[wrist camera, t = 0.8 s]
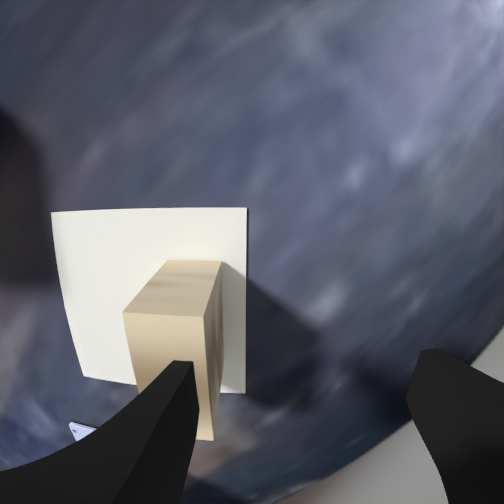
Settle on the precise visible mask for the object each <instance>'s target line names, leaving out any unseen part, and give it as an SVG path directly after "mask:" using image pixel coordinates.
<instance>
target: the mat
mask: <svg viewBox="0 0 504 504" xmlns="http://www.w3.org/2000/svg"><path fill="white" fill-rule="evenodd" d="M51 218H52V229H53V238H54V246H55V253H56V260H57V267H58V273H59V279H60V284H61V290H62V295H63V300H64V304H65V309H66V313H67V318H68V322H69V326H70V330H71V334H72V338H73V341H74V345H75V348H76V352H77V355H78V359H79V362H80V365H81V368H82V372H83V375H84V376H86V377H92V378H97V379H102V380H108V381H114V382H120V383H127V384H134V385H137V383H136V379H135V375H134V370H133V366H132V361H131V357H130V352H129V347H128V342H127V337H126V332H125V326H124V320H123V315H122V312H123V310H124V309H125V308H126V307H127V306H128V304H129V303H130V302H131V301H132V300H133V299H134V297H135V296H136V295H137V294H138V293H139V292H140V290H141V289H142V288H143V287H144V286H145V285H146V284H147V282H148V281H149V280H150V279H151V278H152V277H153V276H154V274H155V273H156V272H157V271H158V270H159V269H160V268H161V266H162V265H163V264H164V263H165V262H166V261H167V260H210V261H222V307H223V340H224V368H223V375H222V382H221V389H220V392H221V393H245V383H246V223H247V208H142V209H110V210H86V211H67V212H51Z"/></svg>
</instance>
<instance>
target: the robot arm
mask: <svg viewBox="0 0 504 504" xmlns="http://www.w3.org/2000/svg"><path fill="white" fill-rule="evenodd" d="M405 398H406V401H407V404H408V407H409V410H410V413H411V415H412V418H413V421H414V423H415V425H416V427H417V429H418V431H419V433H420V435H421V437H422V439H423V441H424V443H425V445H426V447H427V449H428V451H429V452H430V455H431V456H432V459H433V460H434V463H435V464H436V467H437V469H438V471H439V474H440V476H441V479H442V482H443V485H444V488H445V491H446V495H447V498H448V503H449V504H504V383H503V382H500V381H498V380H496V379H494V378H492V377H490V376H488V375H486V374H484V373H483V372H481V371H479V370H477V369H475V368H473V367H471V366H470V365H468V364H466V363H464V362H462V361H460V360H459V359H457V358H455V357H453V356H451V355H449V354H447V353H445V352H443V351H440V350H438V349H428V350H422V351H420V355H419V358H418V361H417V365H416V368H415V371H414V374H413V377H412V380H411V383H410V386H409V389H408V392H407V394H406V397H405ZM199 412H200V408H199V401H198V394H197V387H196V379H195V371H194V363H193V361H180V360H173V361H172V362H171V363H170V364H169V365H168V366H167V367H166V368H165V369H164V370H163V371H162V372H161V373H160V374H159V375H158V376H157V377H156V378H155V379H154V380H153V381H152V382H151V383H150V384H149V385H148V386H147V387H146V388H145V389H144V390H143V391H142V392H141V393H140V394H139V395H137V396H136V397H135V398H134V399H133V400H132V401H131V402H130V403H129V404H128V405H126V406H125V407H124V408H123V409H122V410H120V411H119V412H118V413H117V414H116V415H114V416H113V417H112V418H111V419H109V420H108V421H107V422H105V423H104V424H103V425H101V426H100V427H99V428H93V427H89V426H85V425H81V424H77V423H74V422H70V424H69V427H70V429H71V431H72V433H73V435H74V437H75V439H76V442H74V443H73V444H71V445H69V446H67V447H65V448H63V449H61V450H59V451H57V452H55V453H53V454H51V455H49V456H46V457H44V458H41V459H39V460H36V461H34V462H31V463H28V464H25V465H22V466H19V467H16V468H12V469H9V470H4V471H0V504H180V500H181V495H182V491H183V487H184V483H185V479H186V475H187V471H188V468H189V464H190V460H191V456H192V452H193V448H194V444H195V440H196V436H197V428H198V420H199Z"/></svg>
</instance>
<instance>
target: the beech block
mask: <svg viewBox="0 0 504 504" xmlns="http://www.w3.org/2000/svg"><path fill="white" fill-rule="evenodd" d="M122 315H123V320H124V326H125V332H126V337H127V342H128V347H129V352H130V357H131V361H132V366H133V370H134V375H135V379H136V383H137V387H138V391H139V394H140V393H141V392H142V391H143V390H144V389H145V388H146V387H147V386H148V385H149V384H150V383H151V382H152V381H153V380H154V379H155V378H156V377H157V376H158V375H159V374H160V373H161V372H162V371H163V370H164V369H165V368H166V367H167V366H168V365H169V364H170V363H171V362H172V361H173V360H180V361H193V363H194V371H195V379H196V387H197V394H198V401H199V408H200V412H199V420H198V428H197V436H196V439H199V440H213V441H214V434H215V427H216V419H217V412H218V404H219V397H220V389H221V382H222V375H223V368H224V340H223V307H222V261H210V260H167V261H166V262H165V263H164V264H163V265H162V266H161V268H160V269H159V270H158V271H157V272H156V273H155V274H154V276H153V277H152V278H151V279H150V280H149V281H148V282H147V284H146V285H145V286H144V287H143V288H142V289H141V290H140V292H139V293H138V294H137V295H136V296H135V297H134V299H133V300H132V301H131V302H130V303H129V304H128V306H127V307H126V308H125V309H124V310H123V312H122Z"/></svg>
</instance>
